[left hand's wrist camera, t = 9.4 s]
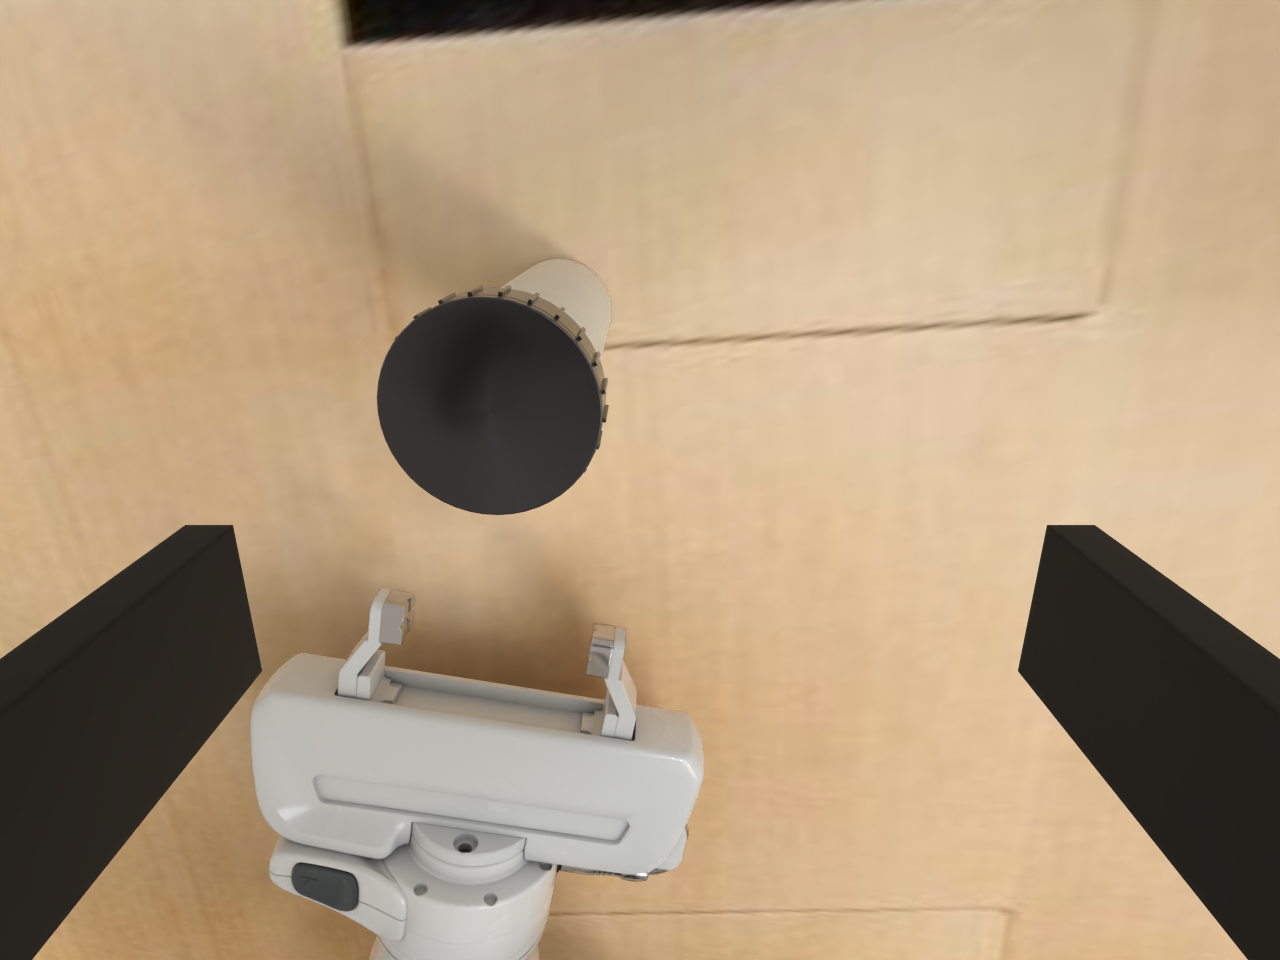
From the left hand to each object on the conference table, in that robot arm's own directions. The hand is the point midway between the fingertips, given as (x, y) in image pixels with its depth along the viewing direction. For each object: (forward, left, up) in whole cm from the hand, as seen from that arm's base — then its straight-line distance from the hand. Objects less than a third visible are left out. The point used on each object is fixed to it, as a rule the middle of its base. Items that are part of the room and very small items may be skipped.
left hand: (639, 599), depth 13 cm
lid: (+1, -4, -8) cm, 9 cm away
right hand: (+12, +1, -18) cm, 22 cm away
